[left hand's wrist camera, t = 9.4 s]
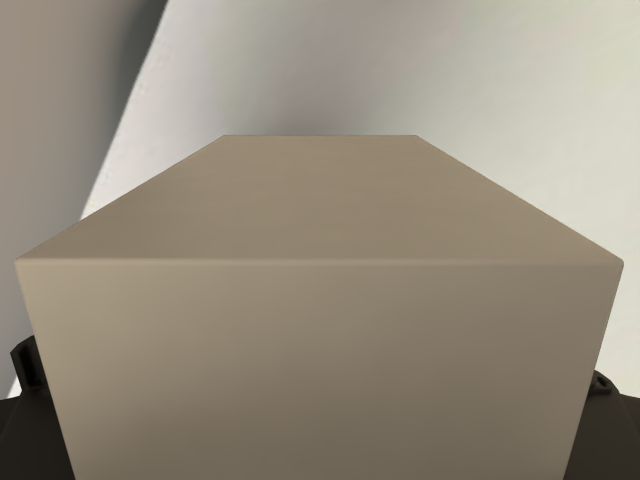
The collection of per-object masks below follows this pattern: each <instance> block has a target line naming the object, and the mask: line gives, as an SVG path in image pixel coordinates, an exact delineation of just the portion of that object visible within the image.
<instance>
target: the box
mask: <svg viewBox="0 0 640 480" xmlns="http://www.w3.org/2000/svg"><path fill="white" fill-rule="evenodd" d="M14 266H15V270H16V273H17V277H18V280H19V284H20V287H21V291H22V294H23V298H24V301H25V305H26V308H27V312H28V315H29V319H30V322H31V326H32V329H33V333H34V336H35V340H36V343H37V347H38V350H39V354H40V357H41V361H42V364H43V368H44V371H45V375H46V378H47V382H48V385H49V389H50V392H51V396H52V399H53V403H54V406H55V410H56V413H57V417H58V420H59V424H60V427H61V431H62V434H63V437H64V441H65V444H66V448H67V451H68V455H69V458H70V462H71V465H72V469H73V472H74V476H75V479H76V480H563V478H564V475H565V471H566V467H567V464H568V460H569V457H570V453H571V450H572V446H573V443H574V439H575V436H576V432H577V429H578V425H579V422H580V418H581V415H582V411H583V408H584V404H585V401H586V397H587V394H588V390H589V387H590V383H591V380H592V376H593V372H594V369H595V365H596V362H597V358H598V355H599V351H600V348H601V344H602V341H603V337H604V334H605V330H606V327H607V323H608V320H609V316H610V313H611V309H612V306H613V302H614V299H615V295H616V292H617V288H618V285H619V281H620V277H621V274H622V270H623V267H624V263H623V260H622V259H621V258H619V257H617V256H616V255H614V254H612V253H611V252H609V251H607V250H606V249H604V248H602V247H601V246H599V245H597V244H596V243H594V242H592V241H591V240H589V239H587V238H586V237H584V236H582V235H581V234H579V233H578V232H576V231H574V230H573V229H571V228H569V227H568V226H566V225H564V224H563V223H561V222H559V221H558V220H556V219H554V218H553V217H551V216H549V215H548V214H546V213H544V212H543V211H541V210H539V209H538V208H536V207H534V206H533V205H531V204H529V203H528V202H526V201H524V200H523V199H521V198H519V197H518V196H516V195H514V194H513V193H511V192H509V191H508V190H506V189H505V188H503V187H501V186H500V185H498V184H496V183H495V182H493V181H491V180H490V179H488V178H486V177H485V176H483V175H481V174H480V173H478V172H476V171H475V170H473V169H471V168H470V167H468V166H466V165H465V164H463V163H461V162H460V161H458V160H456V159H455V158H453V157H451V156H450V155H448V154H446V153H445V152H443V151H441V150H440V149H438V148H436V147H435V146H433V145H431V144H430V143H428V142H427V141H425V140H423V139H422V138H420V137H418V136H416V135H224V136H222V137H220V138H219V139H217V140H215V141H214V142H212V143H210V144H209V145H207V146H205V147H204V148H202V149H200V150H199V151H197V152H195V153H194V154H192V155H190V156H188V157H187V158H185V159H183V160H182V161H180V162H178V163H177V164H175V165H173V166H172V167H170V168H168V169H167V170H165V171H163V172H162V173H160V174H158V175H157V176H155V177H153V178H151V179H150V180H148V181H146V182H145V183H143V184H141V185H140V186H138V187H136V188H135V189H133V190H131V191H130V192H128V193H126V194H125V195H123V196H121V197H120V198H118V199H116V200H114V201H113V202H111V203H109V204H108V205H106V206H104V207H103V208H101V209H99V210H98V211H96V212H94V213H93V214H91V215H89V216H88V217H86V218H84V219H83V220H81V221H79V222H77V223H76V224H74V225H72V226H71V227H69V228H67V229H66V230H64V231H62V232H61V233H59V234H57V235H56V236H54V237H52V238H51V239H49V240H47V241H46V242H44V243H42V244H41V245H39V246H37V247H36V248H34V249H32V250H30V251H29V252H27V253H25V254H24V255H22V256H20V257H19V258H17V259H16V260H15V263H14Z"/></svg>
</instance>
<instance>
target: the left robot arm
mask: <svg viewBox="0 0 640 480" xmlns="http://www.w3.org/2000/svg"><path fill="white" fill-rule="evenodd" d="M10 354H11V357H12V361H13V364H14V367H15V370H16V373H17V376H18V379H19V383H20V386H21V389H22V392H21V394H20V396H17V397H13V398H8V399H4V400H0V480H76V479H75V476H74V472H73V469H72V465H71V462H70V458H69V455H68V451H67V448H66V444H65V441H64V437H63V434H62V431H61V427H60V424H59V420H58V417H57V413H56V410H55V406H54V403H53V399H52V396H51V392H50V389H49V385H48V382H47V378H46V375H45V371H44V368H43V364H42V361H41V357H40V354H39V350H38V347H37V343H36V340H35V336H34V335H33V336H30V337H29V338H27V339H26V340H24V341H22V342H21V343H19V344H18V345H17V346H16V347H15V348H14V349H13V350H12V351H11V352H10ZM563 480H640V398H636V397H631V396H627V395H623V394H620V393H619V391H618V389H617V388H616V387H615V385H614V384H613V383H612V381H611V380H609V379H608V378H607V377H605V376H604V375H602V374H601V373H600V372H598V371H596V370H594V372H593V376H592V380H591V383H590V387H589V390H588V394H587V397H586V401H585V404H584V408H583V411H582V415H581V418H580V422H579V425H578V429H577V432H576V436H575V439H574V443H573V446H572V450H571V453H570V457H569V460H568V464H567V467H566V471H565V475H564V478H563Z"/></svg>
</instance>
